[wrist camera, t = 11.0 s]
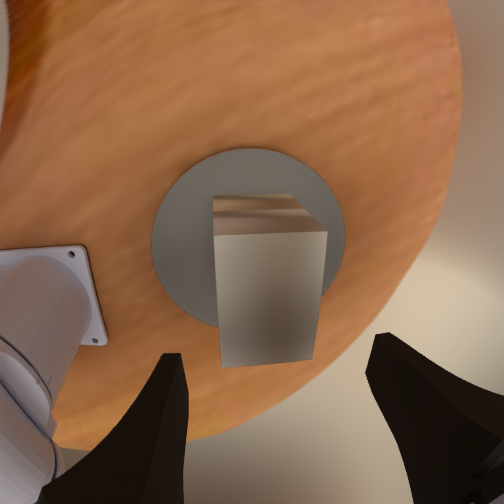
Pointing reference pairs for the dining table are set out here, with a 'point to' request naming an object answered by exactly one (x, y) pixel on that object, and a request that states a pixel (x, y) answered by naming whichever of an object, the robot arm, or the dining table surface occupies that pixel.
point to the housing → (267, 278)
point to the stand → (201, 220)
